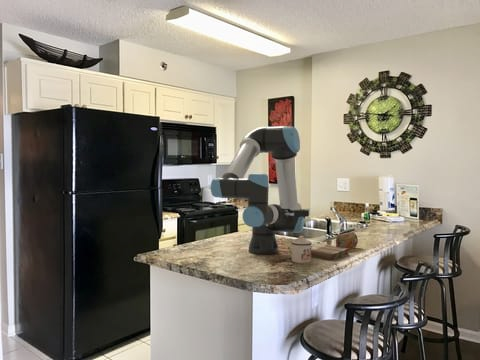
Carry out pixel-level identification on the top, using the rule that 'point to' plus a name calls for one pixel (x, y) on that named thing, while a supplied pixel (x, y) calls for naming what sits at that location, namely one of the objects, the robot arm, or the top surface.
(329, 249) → the board
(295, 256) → the teacup with lid
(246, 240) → the top surface
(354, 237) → the brown flat oval piece
